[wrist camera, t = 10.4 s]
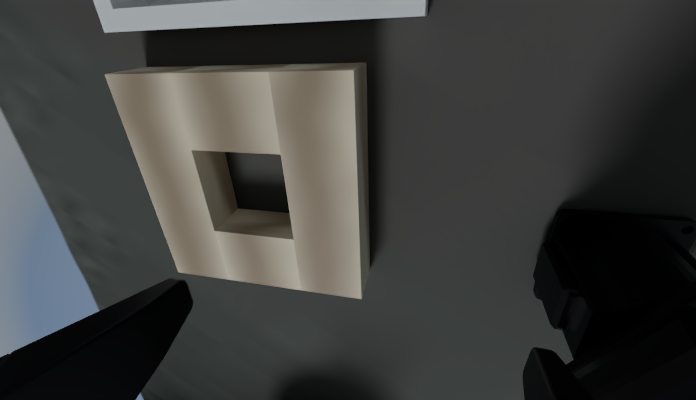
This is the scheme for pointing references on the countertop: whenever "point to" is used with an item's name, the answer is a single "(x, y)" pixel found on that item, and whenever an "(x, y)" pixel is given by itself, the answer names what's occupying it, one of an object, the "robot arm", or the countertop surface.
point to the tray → (244, 12)
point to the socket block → (265, 138)
